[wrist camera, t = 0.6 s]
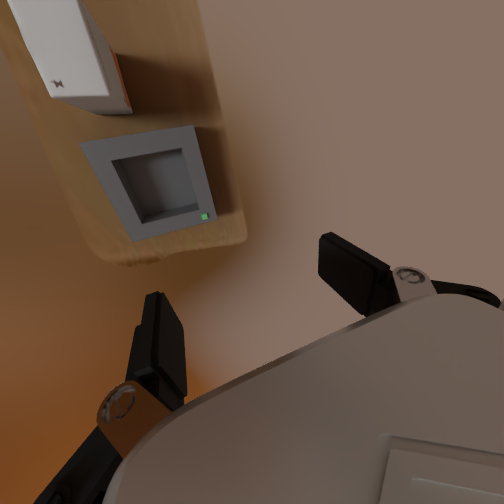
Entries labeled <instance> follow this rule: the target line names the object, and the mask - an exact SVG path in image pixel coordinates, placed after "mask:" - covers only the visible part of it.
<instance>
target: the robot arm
mask: <svg viewBox="0 0 504 504" xmlns="http://www.w3.org/2000/svg"><path fill="white" fill-rule="evenodd" d="M318 261H319V262H318V274H319V276H320V277H321V278H322V279H323V280H324V281H325V282H326V283H327V284H328V285H329V286H330V287H332V288H333V289H334V290H335V291H336V292H337V293H338V294H339V295H340V296H341V297H342V298H343V299H344V300H345V301H346V302H348V303H349V304H350V305H351V306H352V307H353V308H354V309H355V310H356V311H357V312H358V313H360V314H361V315H364V316H365V317H366V318H364V319H362V320H360V321H358V322H355V323H353V324H351V325H349V326H347V327H344V328H342V329H340V330H338V331H336V332H334V333H331V334H329V335H327V336H325V337H323V338H321V339H319V340H317V341H314V342H312V343H310V344H308V345H306V346H304V347H301V348H299V349H297V350H295V351H293V352H291V353H289V354H286V355H284V356H282V357H280V358H278V359H276V360H274V361H272V362H269V363H267V364H265V365H263V366H261V367H259V368H257V369H255V370H253V371H251V372H248V373H246V374H244V375H242V376H240V377H238V378H236V379H234V380H232V381H229V382H227V383H225V384H223V385H221V386H219V387H217V388H215V389H213V390H211V391H209V392H207V393H205V394H203V395H201V396H199V397H197V398H196V399H194V400H192V401H190V402H189V403H187V404H185V405H184V397H185V396H187V378H186V362H185V347H184V331H183V326H182V324H181V322H180V320H179V319H178V317H177V316H176V313H175V312H174V310H173V308H172V306H171V305H170V303H169V301H168V299H167V298H166V296H165V294H164V293H163V292H162V293H160V292H158V291H157V292H154V293H151V294H148V295H146V297H145V303H144V309H143V315H142V321H141V325H139V326H137V327H136V328H135V332H134V337H133V342H132V347H131V352H130V357H129V363H128V368H127V373H126V379H125V382H123V383H121V384H119V385H118V386H116V387H115V388H114V389H113V390H112V391H110V392H109V393H108V395H107V396H106V397H105V398H104V400H103V402H102V403H101V405H100V407H99V409H98V412H97V418H96V422H97V427H96V428H95V429H94V430H93V432H92V433H91V434H90V435H89V436H88V437H87V439H86V440H85V441H84V442H83V443H82V445H81V446H80V447H79V448H78V449H77V451H76V452H75V453H74V454H73V456H72V457H71V458H70V459H69V460H68V462H67V463H66V464H65V465H64V467H63V468H62V469H61V470H60V471H59V473H58V474H57V475H56V476H55V477H54V478H53V480H52V481H51V482H50V483H49V485H48V486H47V487H46V488H45V490H44V491H43V492H42V493H41V494H40V495H39V497H38V498H37V499H36V500H35V502H34V503H33V504H504V299H503V300H502V301H500V300H499V299H498V297H497V296H495V295H494V294H492V293H491V292H489V291H487V290H485V289H483V288H479V287H475V286H470V285H463V284H455V283H448V282H442V281H434V280H430V279H429V277H428V276H427V275H426V274H425V273H424V272H422V271H420V270H418V269H415V268H412V267H397V268H395V269H394V270H393V271H391V270H389V269H390V266H389V265H387V264H386V263H384V262H382V261H381V260H379V259H377V258H375V257H374V256H372V255H370V254H369V253H367V252H365V251H363V250H362V249H360V248H358V247H356V246H355V245H353V244H352V243H350V242H348V241H346V240H345V239H343V238H341V237H339V236H338V235H336V234H334V233H333V232H329V233H326V234H323V235H322V236H321V238H320V239H319V260H318Z"/></svg>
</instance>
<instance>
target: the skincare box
mask: <svg viewBox="0 0 504 504" xmlns="http://www.w3.org/2000/svg"><path fill="white" fill-rule="evenodd" d="M7 1H8V4H9V6H10V8H11V10H12V13H13V15H14V17H15V19H16V21H17V24H18V26H19V29H20V31H21V34H22V37H23V39H24V41H25V44H26V46H27V48H28V50H29V52H30V54H31V55H32V58H33V60H34V62H35V64H36V66H37V68H38V70H39V72H40V75H41V77H42V79H43V81H44V83H45V85H46V88H47V90H48V92H49V94H50V96H51V97H52V98H54V99H57V100H60V101H63V102H65V103H68V104H70V105H73V106H76V107H78V108H81V109H84V110H87V111H89V112H92V113H94V114H97V115H114V114H133V111H132V108H131V105H130V102H129V99H128V95H127V92H126V89H125V86H124V82H123V79H122V75H121V72H120V68H119V65H118V61H117V57H116V54H115V52H114V51H113V49H112V47H111V46H110V44H109V43H108V41H107V40H106V38H105V36H104V35H103V33H102V32H101V30H100V28H99V27H98V25H97V24H96V22H95V20H94V19H93V17H92V16H91V14H90V12H89V11H88V9H87V8H86V6H85V5H84V3H83V2H82V0H7Z"/></svg>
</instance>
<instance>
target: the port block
mask: <svg viewBox="0 0 504 504" xmlns="http://www.w3.org/2000/svg"><path fill="white" fill-rule="evenodd" d="M79 145H80V147H81V149H82V150H83V152H84V154H85V156H86V158H87V160H88V161H89V163H90V165H91V167H92V169H93V171H94V172H95V174H96V176H97V178H98V180H99V181H100V183H101V185H102V187H103V189H104V191H105V192H106V194H107V196H108V198H109V200H110V202H111V203H112V205H113V207H114V209H115V211H116V213H117V214H118V216H119V218H120V220H121V222H122V224H123V225H124V227H125V229H126V231H127V233H128V235H129V236H130V238H131V240H132V242H135V241H139V240H142V239H146V238H150V237H154V236H157V235H161V234H165V233H169V232H172V231H176V230H180V229H183V228H187V227H191V226H195V225H198V224H202V223H206V222H210V221H213V220H217V215H216V211H215V207H214V203H213V199H212V195H211V191H210V188H209V184H208V180H207V176H206V172H205V168H204V164H203V160H202V156H201V152H200V149H199V145H198V141H197V137H196V133H195V129H194V125H188V126H182V127H176V128H169V129H163V130H157V131H150V132H144V133H138V134H131V135H125V136H119V137H112V138H106V139H100V140H93V141H87V142H81V143H79Z"/></svg>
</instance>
